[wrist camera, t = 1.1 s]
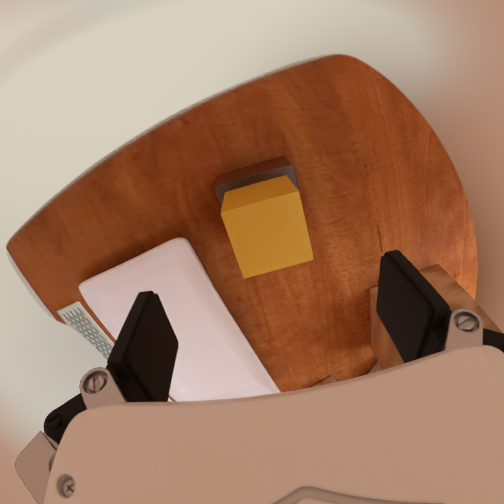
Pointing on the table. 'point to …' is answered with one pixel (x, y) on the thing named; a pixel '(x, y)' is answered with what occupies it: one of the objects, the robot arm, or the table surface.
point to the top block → (266, 226)
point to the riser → (450, 293)
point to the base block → (254, 176)
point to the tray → (184, 322)
